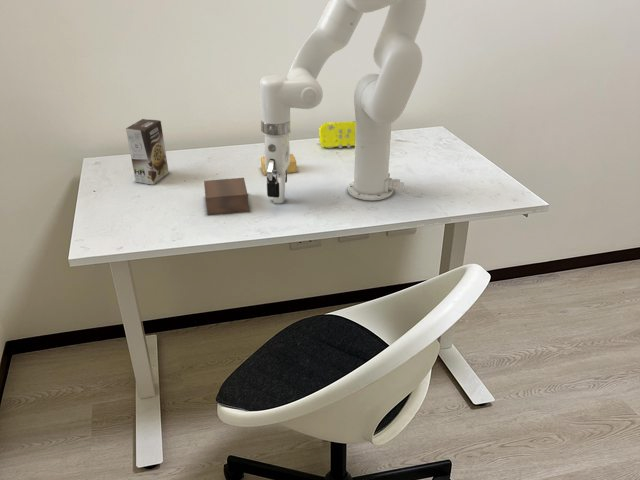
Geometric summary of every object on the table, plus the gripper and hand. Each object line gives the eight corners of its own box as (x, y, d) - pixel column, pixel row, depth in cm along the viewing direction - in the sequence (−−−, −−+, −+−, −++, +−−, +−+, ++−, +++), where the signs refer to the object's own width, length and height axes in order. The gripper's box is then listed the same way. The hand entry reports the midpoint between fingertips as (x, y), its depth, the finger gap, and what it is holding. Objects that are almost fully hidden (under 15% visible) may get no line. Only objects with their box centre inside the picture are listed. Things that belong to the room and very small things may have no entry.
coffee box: (154, 185, 181) (144, 130, 171) (134, 182, 183) (124, 128, 173) (170, 173, 188) (161, 120, 178) (151, 170, 189) (142, 117, 180)
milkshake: (287, 205, 169) (286, 170, 163) (268, 204, 170) (266, 169, 164) (291, 198, 173) (290, 164, 167) (272, 196, 174) (270, 162, 168)
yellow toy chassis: (321, 150, 202) (321, 124, 197) (319, 143, 206) (319, 118, 202) (369, 147, 203) (370, 122, 198) (366, 141, 208) (367, 116, 203)
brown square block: (245, 194, 176) (243, 177, 173) (249, 211, 167) (247, 194, 164) (206, 197, 174) (203, 180, 171) (207, 215, 165) (205, 197, 162)
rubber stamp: (264, 175, 186) (261, 136, 179) (261, 168, 190) (258, 129, 183) (296, 172, 188) (295, 133, 180) (293, 165, 192) (291, 126, 185)
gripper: (283, 139, 152) (284, 204, 162) (296, 117, 166) (297, 177, 176) (253, 137, 153) (256, 201, 163) (269, 115, 167) (271, 175, 177)
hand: (277, 189), depth 169 cm, fingers open, 9 cm apart
